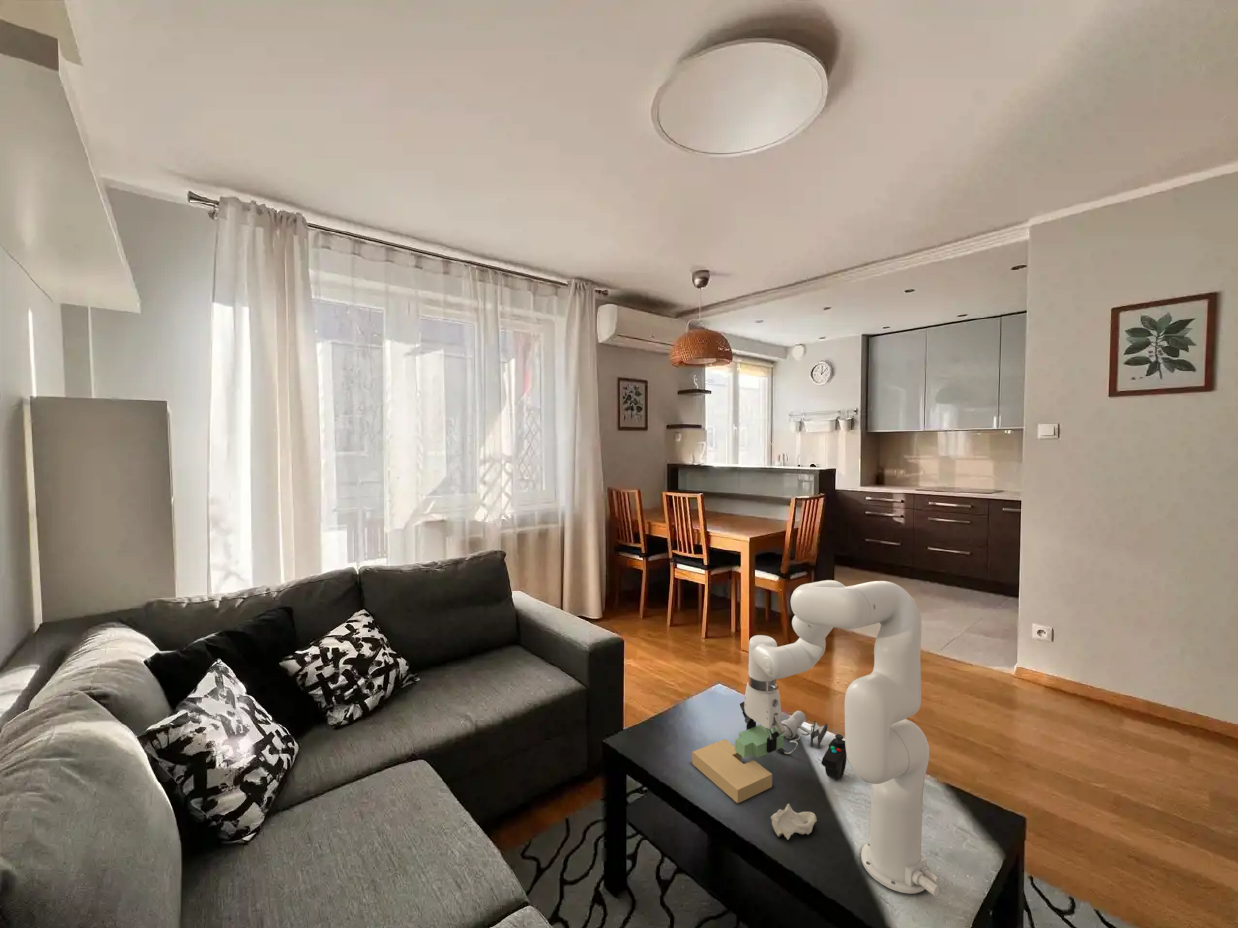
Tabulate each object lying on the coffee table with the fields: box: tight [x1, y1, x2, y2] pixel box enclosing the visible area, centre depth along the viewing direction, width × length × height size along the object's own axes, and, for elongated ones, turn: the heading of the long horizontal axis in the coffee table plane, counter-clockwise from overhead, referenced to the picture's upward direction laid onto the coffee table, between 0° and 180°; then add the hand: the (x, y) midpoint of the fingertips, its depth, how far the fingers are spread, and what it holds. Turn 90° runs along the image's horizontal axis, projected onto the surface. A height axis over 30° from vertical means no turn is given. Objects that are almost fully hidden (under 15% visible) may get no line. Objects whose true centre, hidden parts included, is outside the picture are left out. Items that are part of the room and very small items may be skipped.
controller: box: [820, 733, 848, 781], centre depth 137 cm, size 4×12×10 cm, turn 141°
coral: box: [770, 803, 818, 841], centre depth 119 cm, size 6×10×4 cm, turn 115°
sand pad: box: [691, 738, 773, 804], centre depth 138 cm, size 18×12×4 cm, turn 30°
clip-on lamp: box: [776, 710, 828, 755], centre depth 153 cm, size 12×6×18 cm
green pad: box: [734, 724, 785, 759], centre depth 143 cm, size 7×13×4 cm, turn 120°
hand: (761, 743), depth 144 cm, fingers closed on green pad, 7 cm apart
